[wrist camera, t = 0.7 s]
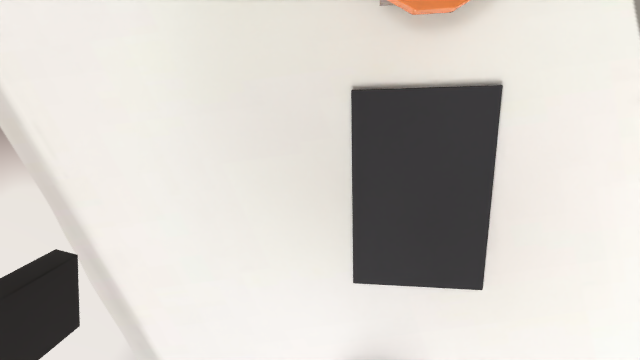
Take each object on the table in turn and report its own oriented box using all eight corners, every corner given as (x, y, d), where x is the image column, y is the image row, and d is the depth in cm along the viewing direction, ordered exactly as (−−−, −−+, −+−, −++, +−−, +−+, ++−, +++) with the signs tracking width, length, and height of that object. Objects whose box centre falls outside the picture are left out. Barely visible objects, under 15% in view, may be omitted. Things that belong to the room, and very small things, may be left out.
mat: (351, 90, 32) (351, 90, 32) (501, 85, 30) (502, 85, 30) (353, 281, 38) (353, 283, 37) (481, 288, 36) (482, 290, 35)
